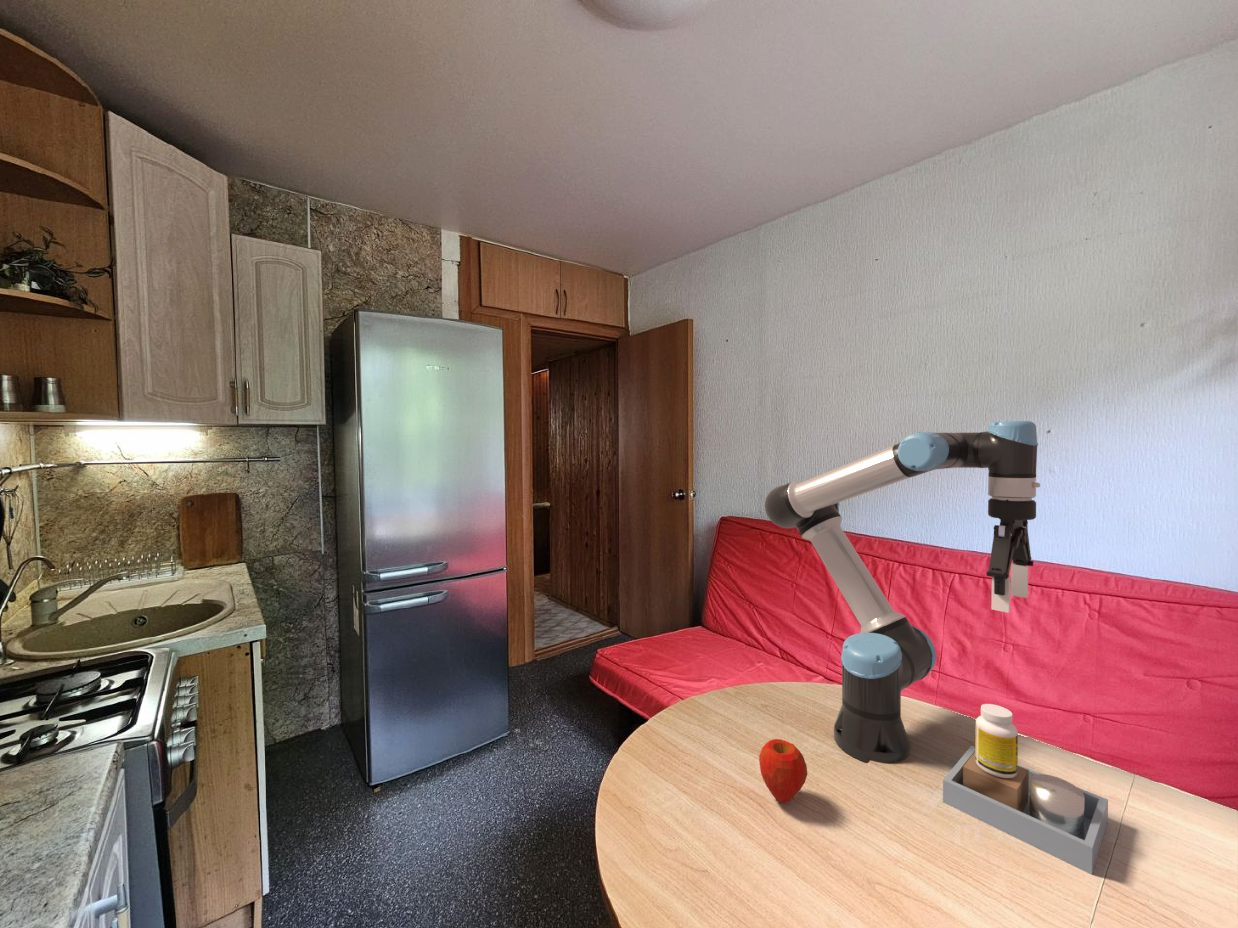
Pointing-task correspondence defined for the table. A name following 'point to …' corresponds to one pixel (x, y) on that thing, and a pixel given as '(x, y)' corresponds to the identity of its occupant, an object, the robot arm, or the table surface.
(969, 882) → the table surface
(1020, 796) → the walnut block
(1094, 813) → the crate
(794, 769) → the apple
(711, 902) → the table surface
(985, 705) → the pill bottle
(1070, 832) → the metal tin
